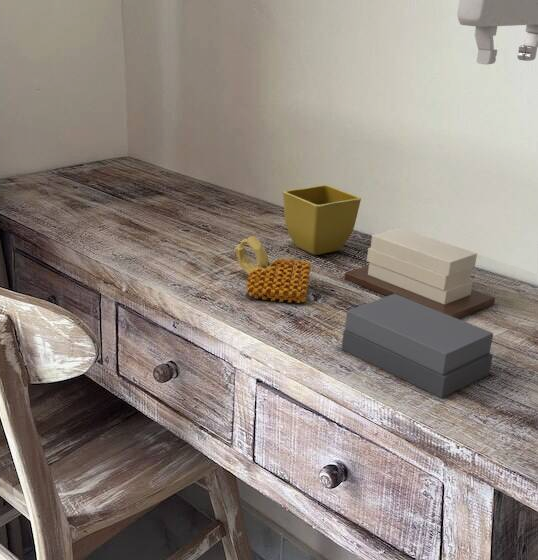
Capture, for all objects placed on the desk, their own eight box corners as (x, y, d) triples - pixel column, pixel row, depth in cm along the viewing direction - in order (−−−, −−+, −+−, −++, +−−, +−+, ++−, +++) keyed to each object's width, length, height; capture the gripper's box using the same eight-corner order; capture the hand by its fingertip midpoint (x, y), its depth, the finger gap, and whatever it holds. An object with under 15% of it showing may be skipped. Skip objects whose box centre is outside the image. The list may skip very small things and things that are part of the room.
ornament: (336, 264, 107) (266, 212, 117) (274, 295, 103) (206, 238, 112) (333, 303, 112) (265, 250, 121) (273, 334, 107) (207, 276, 117)
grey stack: (489, 374, 91) (496, 334, 89) (441, 398, 86) (448, 356, 84) (389, 330, 101) (394, 293, 99) (341, 349, 96) (345, 310, 94)
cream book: (475, 267, 109) (477, 253, 108) (448, 276, 105) (450, 262, 104) (397, 240, 118) (398, 227, 117) (370, 248, 114) (371, 234, 114)
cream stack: (494, 304, 110) (500, 269, 108) (450, 322, 104) (456, 286, 102) (388, 264, 123) (392, 233, 121) (344, 278, 117) (347, 246, 115)
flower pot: (312, 262, 123) (317, 205, 119) (277, 245, 129) (281, 190, 126) (356, 253, 127) (362, 198, 124) (320, 237, 134) (325, 184, 130)
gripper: (502, -58, 91) (481, 69, 96) (591, -51, 103) (568, 61, 108) (454, -58, 95) (437, 63, 101) (545, -52, 108) (525, 55, 113)
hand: (506, 62), depth 105 cm, fingers open, 8 cm apart
